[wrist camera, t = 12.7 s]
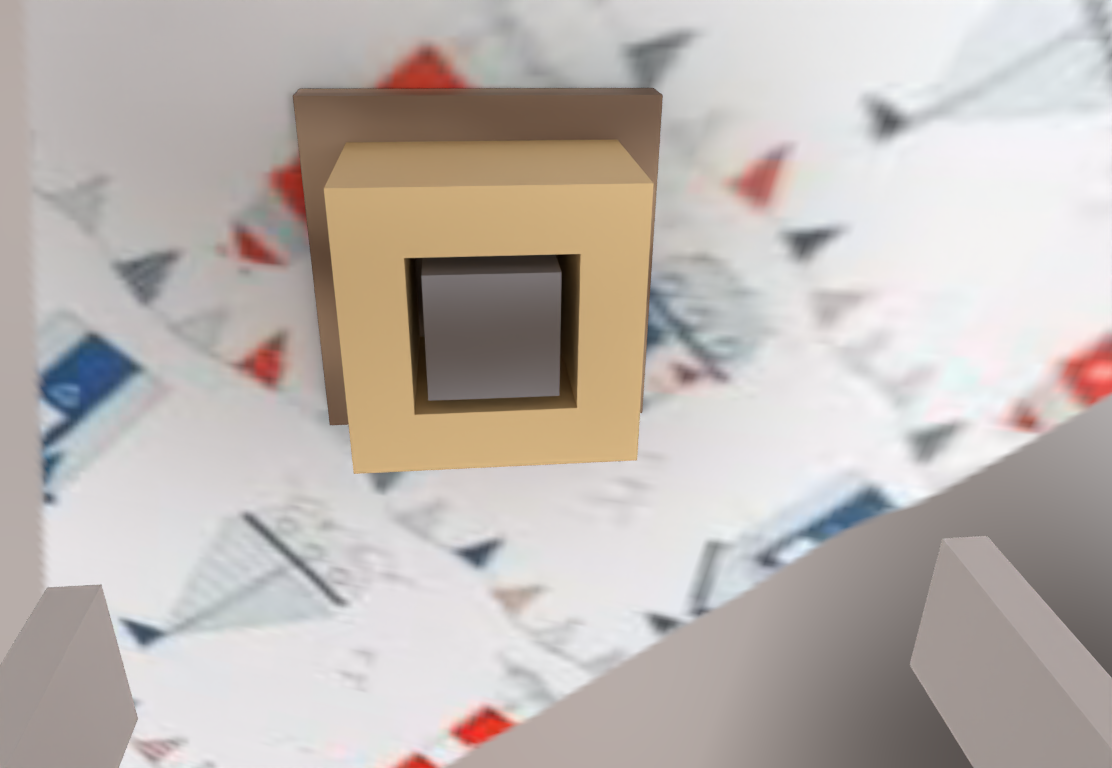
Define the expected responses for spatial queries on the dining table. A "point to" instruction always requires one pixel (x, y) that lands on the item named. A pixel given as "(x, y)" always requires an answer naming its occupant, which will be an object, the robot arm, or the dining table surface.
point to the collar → (490, 230)
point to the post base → (451, 125)
